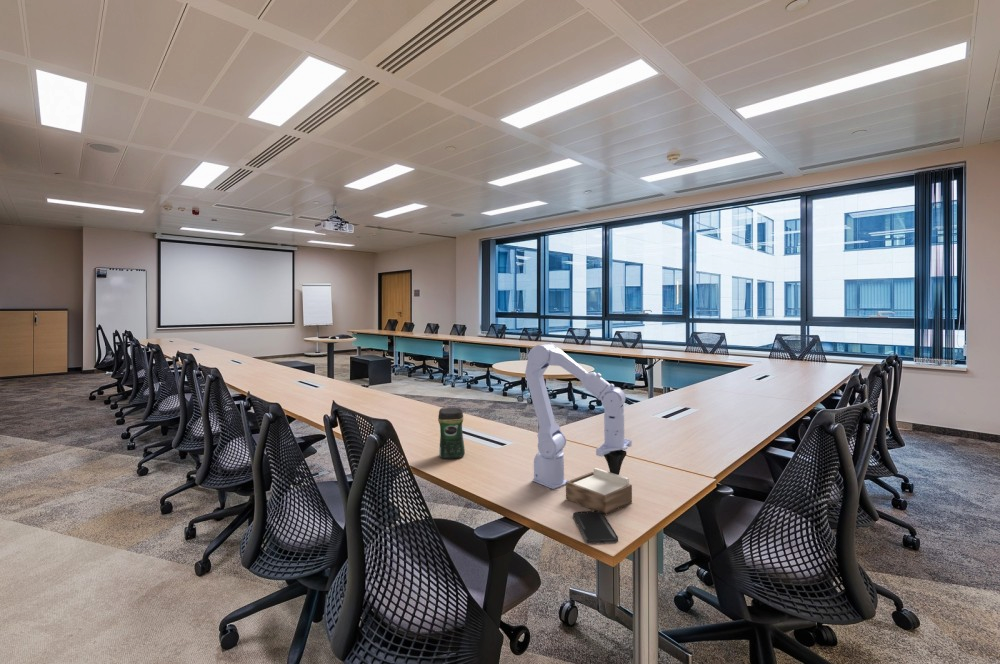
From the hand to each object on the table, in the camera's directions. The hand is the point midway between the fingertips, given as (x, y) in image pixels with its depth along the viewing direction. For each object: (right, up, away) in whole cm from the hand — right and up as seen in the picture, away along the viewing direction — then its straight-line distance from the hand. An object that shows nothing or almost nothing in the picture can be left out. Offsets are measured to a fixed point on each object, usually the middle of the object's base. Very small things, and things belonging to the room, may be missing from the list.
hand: (614, 474), depth 132 cm
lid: (-5, -2, -4) cm, 7 cm away
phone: (-10, -7, -20) cm, 24 cm away
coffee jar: (-52, -5, +37) cm, 65 cm away
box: (-6, -6, -5) cm, 9 cm away
